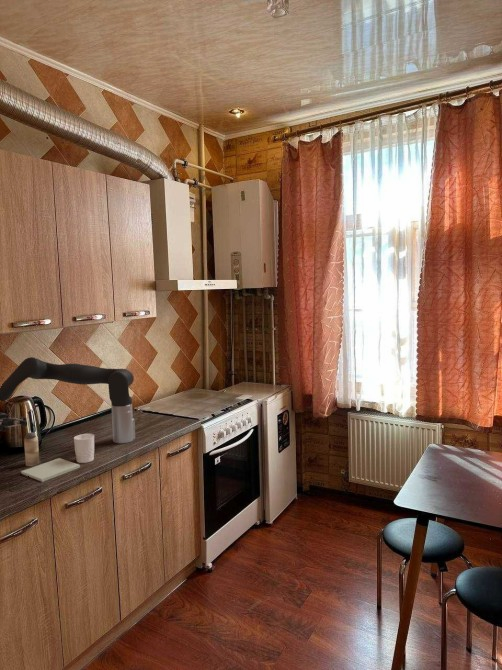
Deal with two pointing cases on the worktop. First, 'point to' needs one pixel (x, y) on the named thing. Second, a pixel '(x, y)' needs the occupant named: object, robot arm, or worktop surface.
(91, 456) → the white cup
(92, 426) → the worktop surface
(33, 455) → the pepper mill
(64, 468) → the board
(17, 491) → the worktop surface
